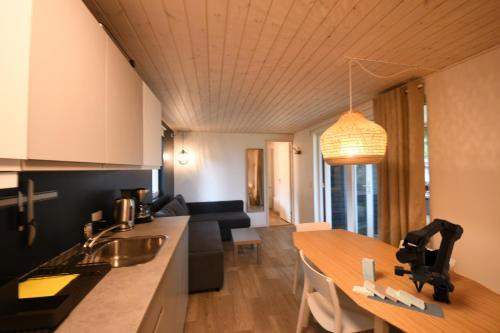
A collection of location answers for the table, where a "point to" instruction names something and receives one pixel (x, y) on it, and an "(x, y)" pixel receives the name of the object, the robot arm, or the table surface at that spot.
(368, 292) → the domino
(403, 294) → the domino
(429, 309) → the domino mat
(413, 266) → the robot arm
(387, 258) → the table surface
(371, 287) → the domino
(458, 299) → the table surface
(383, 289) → the domino
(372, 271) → the skincare box
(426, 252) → the bowl of black rocks
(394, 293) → the domino
